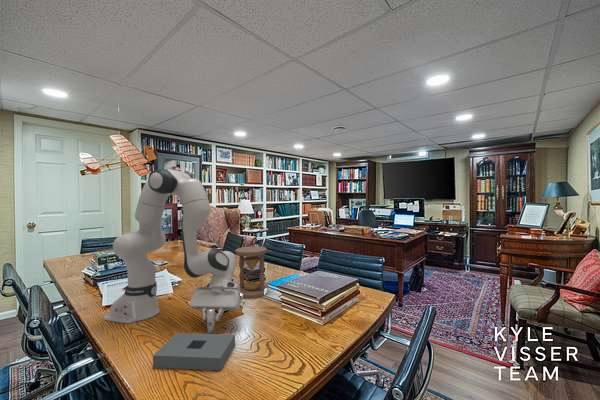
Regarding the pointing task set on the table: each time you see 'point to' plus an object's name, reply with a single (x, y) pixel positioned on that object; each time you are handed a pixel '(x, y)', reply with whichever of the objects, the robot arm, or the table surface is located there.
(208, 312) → the peg
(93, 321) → the table surface
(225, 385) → the table surface
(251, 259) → the hourglass
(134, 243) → the robot arm
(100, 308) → the table surface
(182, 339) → the hole block
